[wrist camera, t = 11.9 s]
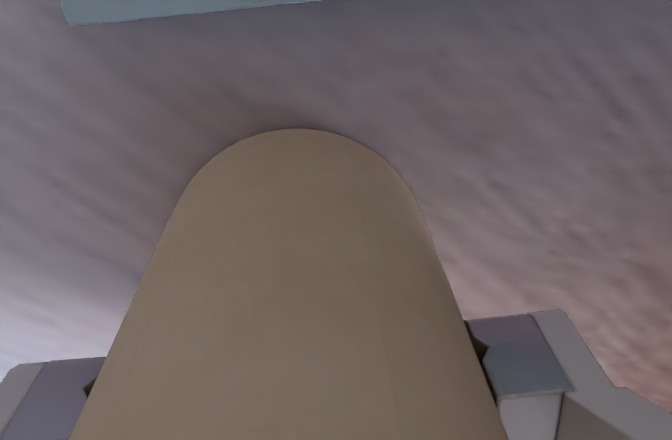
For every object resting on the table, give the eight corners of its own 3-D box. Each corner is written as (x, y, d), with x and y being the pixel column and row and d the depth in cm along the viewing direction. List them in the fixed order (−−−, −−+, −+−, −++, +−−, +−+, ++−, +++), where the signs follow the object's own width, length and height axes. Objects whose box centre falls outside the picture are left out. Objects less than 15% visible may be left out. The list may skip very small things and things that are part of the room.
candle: (149, 300, 13) (-203, 1154, 4) (212, 83, 10) (-354, 1072, 1) (364, 358, 14) (459, 1108, 5) (466, 176, 11) (978, 1020, 3)
